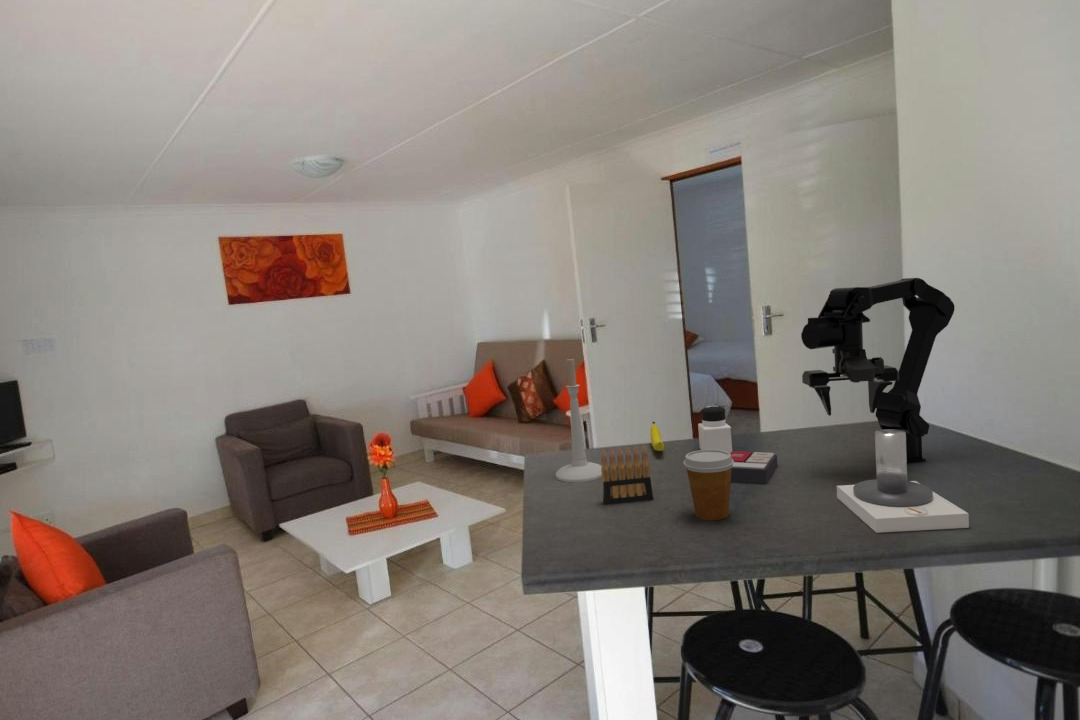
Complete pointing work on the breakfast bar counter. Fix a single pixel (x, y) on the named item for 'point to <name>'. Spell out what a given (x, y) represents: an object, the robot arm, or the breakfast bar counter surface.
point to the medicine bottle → (714, 430)
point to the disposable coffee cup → (710, 482)
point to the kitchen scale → (901, 508)
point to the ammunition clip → (626, 478)
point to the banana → (656, 438)
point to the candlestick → (577, 440)
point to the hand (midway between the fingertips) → (850, 414)
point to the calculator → (752, 467)
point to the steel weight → (891, 461)
